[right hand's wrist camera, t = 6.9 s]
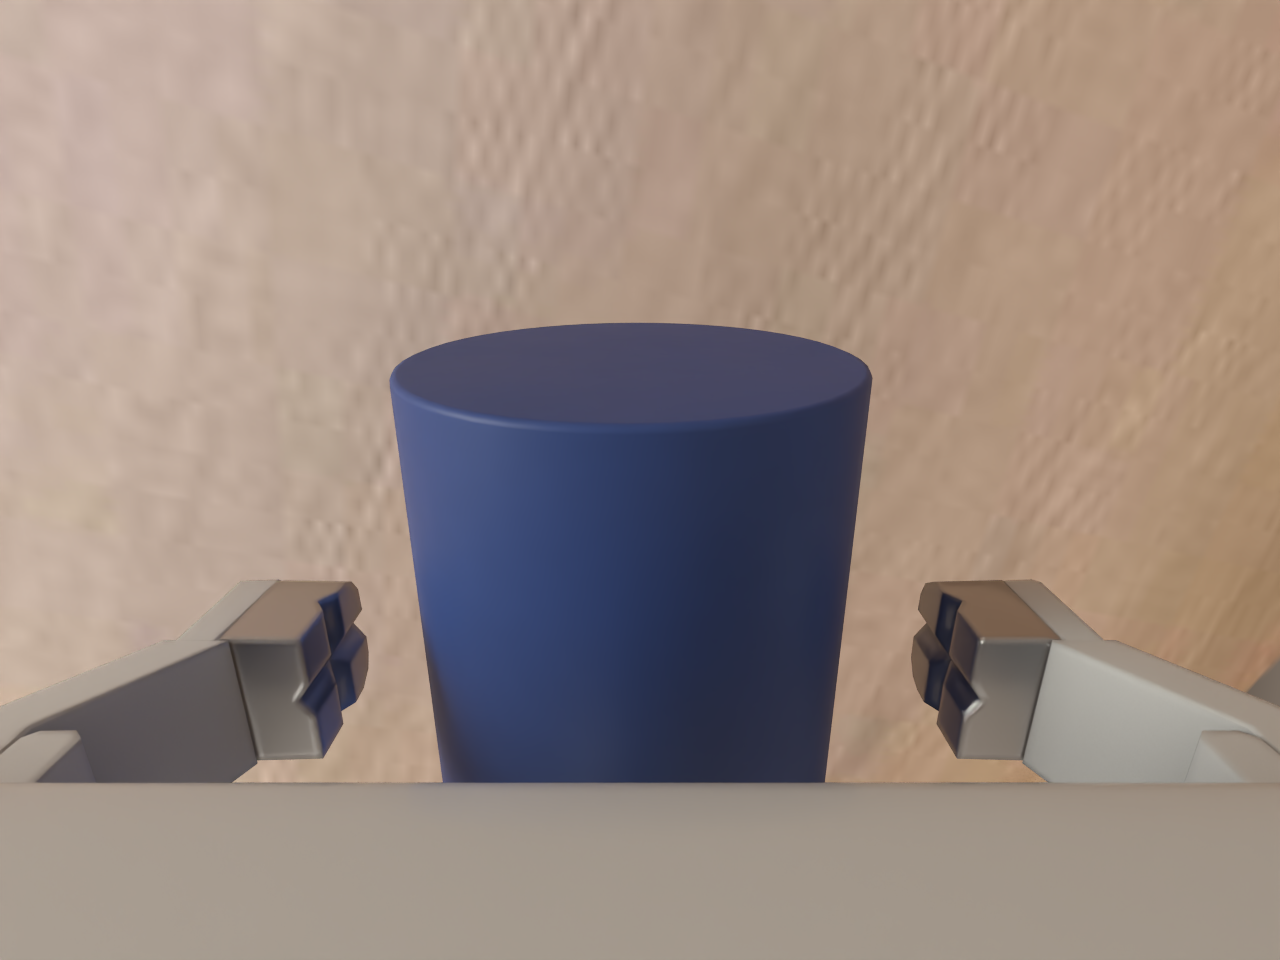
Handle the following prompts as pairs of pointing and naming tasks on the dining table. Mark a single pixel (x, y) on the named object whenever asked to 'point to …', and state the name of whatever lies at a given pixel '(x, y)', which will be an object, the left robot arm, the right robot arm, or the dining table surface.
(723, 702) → the cylinder
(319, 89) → the dining table surface
